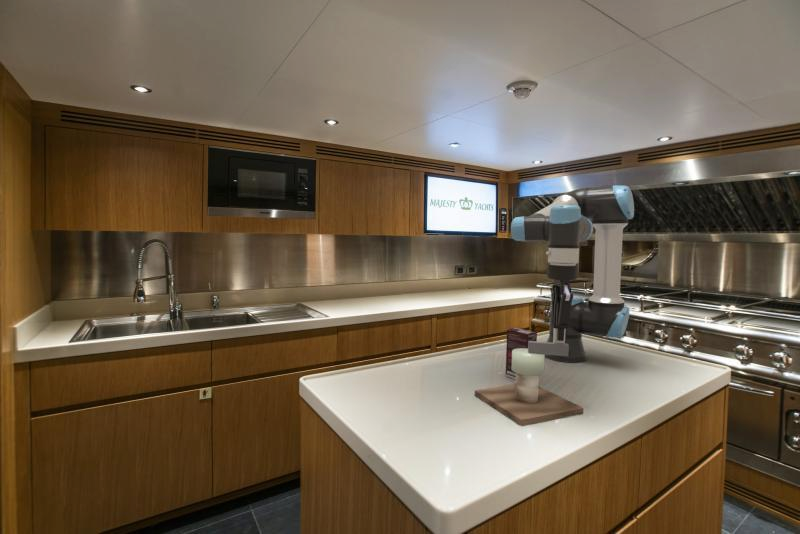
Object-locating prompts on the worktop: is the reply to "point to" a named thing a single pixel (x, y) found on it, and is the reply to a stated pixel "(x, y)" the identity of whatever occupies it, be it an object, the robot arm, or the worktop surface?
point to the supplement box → (516, 345)
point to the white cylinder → (535, 357)
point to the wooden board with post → (528, 401)
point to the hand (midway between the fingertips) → (558, 351)
